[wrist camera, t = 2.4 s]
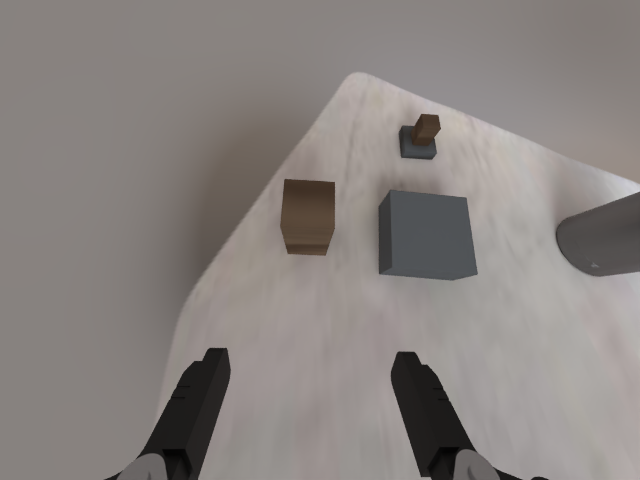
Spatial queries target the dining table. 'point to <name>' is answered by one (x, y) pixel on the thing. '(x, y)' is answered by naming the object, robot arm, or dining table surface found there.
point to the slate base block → (425, 236)
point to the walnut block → (308, 216)
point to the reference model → (420, 138)
